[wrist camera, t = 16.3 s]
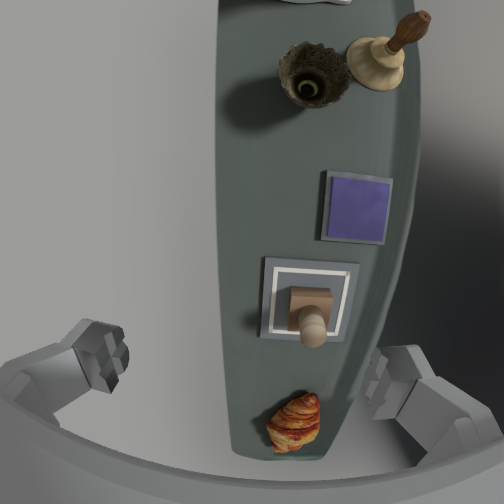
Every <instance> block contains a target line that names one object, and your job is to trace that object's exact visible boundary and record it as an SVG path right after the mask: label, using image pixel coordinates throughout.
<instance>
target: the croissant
mask: <svg viewBox="0 0 504 504" xmlns="http://www.w3.org/2000/svg"><path fill="white" fill-rule="evenodd" d="M319 407H320V401H319V399H318V396H317V395H316V394H315V393H307V394H305V395H304V396H302V397H300V398H296V399H293V400H291V401H290V402H289V403H288V404H287V405H286V406H284V407H282V408H281V409H280V410H279V411H278V412H277V413H276V415H274V416H273V417H272V418H271V419H270V420H269V421H268V423H267V425H266V426H267V430H268V432H269V435H270V438H271V442H272V446H273V450H274V451H275V452H287V451H289V450H298V449H299V448H301V446H302V444H306V443H308V442H310V441H313V440H314V439H315V437H316V435H317V433H318V431H319V427H320V419H319V416H320V415H319Z"/></svg>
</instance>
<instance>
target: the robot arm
mask: <svg viewBox="0 0 504 504" xmlns="http://www.w3.org/2000/svg"><path fill="white" fill-rule="evenodd" d="M282 1H287V2H293V3H315V2H332V3H337V4H343V5H346V4H349V3H350V2H351V1H352V0H282ZM124 337H125V336H124V332H123V329H122V328H120V327H119V326H116V325H111V324H106V323H102V322H99V321H93V320H90V319H82V320H81V321H80V322H79V323H78V324H77V325H76V326H75V327H74V328H73V329H72V330H71V331H70V332H69V333H68V334H67V335H66V337H65V338H64V339H63V340H62V341H61V342H60V343H54V344H51V345H48V346H46V347H43V348H41V349H38V350H36V351H33V352H30V353H28V354H25V355H23V356H20V357H18V358H15V359H12V360H10V361H7V362H5V363H4V364H3V366H2V367H1V368H0V504H504V435H502V433H501V431H500V429H499V427H498V425H497V423H496V421H495V419H494V417H493V415H492V413H491V411H490V409H489V408H488V407H486V406H485V405H483V404H481V403H480V402H478V401H477V400H475V399H474V398H472V397H471V396H469V395H467V394H466V393H464V392H463V391H461V390H460V389H458V388H456V387H455V386H453V385H452V384H450V383H449V382H447V381H446V380H444V379H443V378H441V377H436V376H435V374H434V372H433V371H432V369H431V367H430V365H429V363H428V361H427V360H426V358H425V356H424V354H423V353H422V351H421V349H420V347H419V346H417V345H406V346H397V347H375V349H374V350H373V352H372V355H371V360H372V362H373V363H371V364H370V365H369V366H368V367H367V369H366V371H365V374H364V390H365V394H366V395H367V396H368V397H369V398H371V400H370V402H369V404H368V406H369V410H370V413H371V417H372V420H379V419H390V418H396V420H397V421H398V422H399V423H400V424H401V425H402V426H403V427H404V428H405V429H406V430H407V431H408V432H409V433H410V434H411V435H412V436H413V437H414V438H415V439H416V440H417V441H418V442H419V443H420V444H421V445H422V446H423V447H424V448H425V449H426V451H427V452H428V454H427V455H426V456H425V457H424V458H423V459H422V460H421V461H420V462H419V464H418V465H417V467H413V468H408V469H404V470H399V471H394V472H389V473H384V474H378V475H371V476H364V477H356V478H347V479H336V480H322V481H268V480H253V479H242V478H232V477H224V476H217V475H210V474H204V473H198V472H193V471H188V470H183V469H179V468H174V467H170V466H165V465H162V464H158V463H154V462H150V461H147V460H143V459H140V458H137V457H133V456H130V455H127V454H124V453H121V452H118V451H116V450H113V449H110V448H107V447H105V446H102V445H100V444H97V443H94V442H92V441H90V440H87V439H85V438H82V437H80V436H78V435H76V434H73V433H71V432H69V431H67V430H65V429H63V428H61V427H60V424H59V422H58V420H57V419H56V418H55V416H54V415H53V413H55V412H56V411H58V410H59V409H61V408H63V407H64V406H66V405H67V404H69V403H70V402H72V401H74V400H75V399H77V398H78V397H80V396H81V395H83V394H84V393H86V392H87V391H89V390H90V389H91V388H92V389H95V390H99V391H102V392H105V393H109V394H111V393H112V392H113V390H114V388H115V387H116V385H117V383H118V382H119V379H118V375H120V374H122V373H124V372H125V370H126V368H127V367H128V362H129V350H128V347H127V346H126V345H125V343H124V342H123V341H122V340H123V339H124Z"/></svg>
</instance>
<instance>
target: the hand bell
mask: <svg viewBox="0 0 504 504" xmlns="http://www.w3.org/2000/svg"><path fill="white" fill-rule="evenodd" d="M430 21H431V16H430V15H429V14H428V13H427V12H425V11H423V10H420V11H419V12H416V13H411V14H408V15H406V16H405V17H404V18H403V19H402V20H401V21H400V22H399V24H398V26H397V29H396V34H395V35H394V36H393V37H392V38H391V39H390V38H388V37H378V38H361V39H358V40H356V41H354V42H353V43H352V44H351V45H350V46H349V48H348V50H347V54H346V61H347V64H348V68H349V70H350V72H351V73H352V75H353V76H354V77H355V78H356V79H357V80H358V81H359V82H360V83H361V84H363V85H364V86H366V87H368V88H370V89H372V90H377V91H388V90H391V89H394V88H395V87H397V86H398V85H399V83H400V82H401V80H402V77H403V65H402V64H403V62H404V52H403V50H402V48H403V47H404V46H405V45H406V44H408V43H413V42H416V41H418V40H419V39H421V38H422V37H423V36H424V35H425V34H426V32H427V30H428V27H429V23H430Z"/></svg>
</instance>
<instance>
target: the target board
mask: <svg viewBox="0 0 504 504" xmlns="http://www.w3.org/2000/svg"><path fill="white" fill-rule="evenodd" d="M359 267H360V263H359V262H345V261H330V260H315V259H300V258H285V257H271V256H266V257H265V272H264V288H263V303H262V317H261V331H260V338H265V339H280V340H298V341H301V340H300V332H291V331H287V316H288V307H289V298H290V289H291V286H300V287H318V288H330V290H331V293H332V295H333V303H332V309H331V314H330V319H329V324H328V329H327V339H326V341H325V342H343V341H344V337H345V333H346V329H347V325H348V321H349V316H350V312H351V307H352V303H353V298H354V293H355V288H356V283H357V278H358V273H359Z"/></svg>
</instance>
